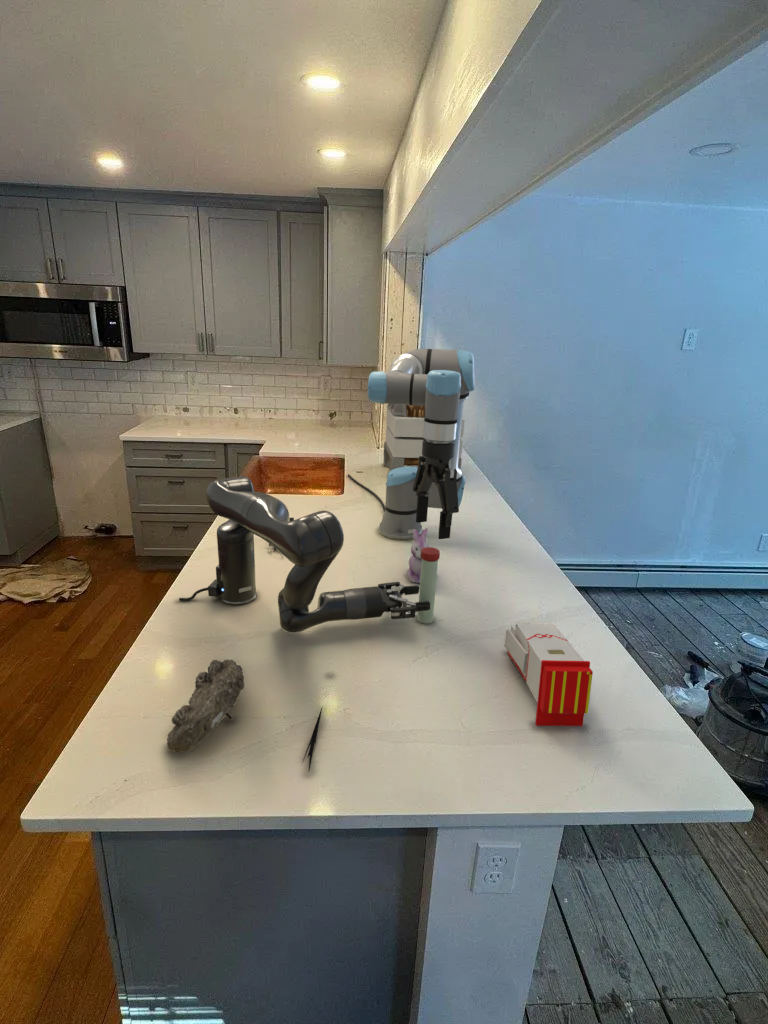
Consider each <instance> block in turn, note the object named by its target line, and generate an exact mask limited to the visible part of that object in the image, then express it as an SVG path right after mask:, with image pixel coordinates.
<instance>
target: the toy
mask: <svg viewBox="0 0 768 1024" xmlns="http://www.w3.org/2000/svg"><path fill="white" fill-rule="evenodd" d="M503 645H504V647H505V649H506V650H507V655H508V656H509V658H510V659H511V662H513V664H514V666H515V667H516V669H517V670H518V672H519V673H520V675H521V676H522V679H523V680H524V681H525V683H526V686H527V687H528V689H529V690H530V693H531V694H532V696H533V698H534V700H535V701H536V703H537V704H536V714H535V722H534V723H535V726H537V727H541V726H542V727H583V726H584V719H585V715H586V714H587V715H588V714H589V706H590V705H589V704H590V699H591V691H592V683H593V682H592V681H593V674H594V673H593V672H594V671H593V670H592V669H591V668H590V667H591V661H590V660H584V659H583V658H582V657H581V655H580V654H579V653H578V651H577V650H576V649H575V648H574V647H573V645H572V644H571V643H570V642H569V640H568V639H567V638H566V636H564V633H562V632H561V630H560V629H559V628H558V627H557V625H556V624H555V623H553V622H515V624H511V625H510V628H506V630H505V638H504V644H503Z"/></svg>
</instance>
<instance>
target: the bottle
mask: <svg viewBox="0 0 768 1024" xmlns="http://www.w3.org/2000/svg"><path fill="white" fill-rule="evenodd" d="M438 564H439V559H438V560H437V561H425V560H423V559H422V562H421V576H420V583H419V593H418V602H423V601H429V602H430V610H427V611H417V618H416V619H417V621H418V622H419V623H421V624H431V623H432V622H434V613H435V602H436V590H437V589H436V588H437V577H438V568H439V567H438V566H439V565H438Z"/></svg>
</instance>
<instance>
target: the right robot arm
mask: <svg viewBox="0 0 768 1024" xmlns="http://www.w3.org/2000/svg"><path fill="white" fill-rule="evenodd" d="M473 391H475V358H474V354H473V352H471V351H469V350H468V351H467V350H461V349H460V350H459V349H443V348H441V349H440V348H416V349H412V350H409V351H405V352H403V353H401V354H399V355H398V356H396V357H395V358H394V359H393V360H392V362H391V364H390V368H389V369H388V370H387V371H384V370H380V371H372V372H370V374H369V376H368V381H367V398H368V400H369V402H371V403H375V404H381V405H385V404H386V405H388V404H401V405H414V406H425V417H424V427H423V438H424V441H423V443H422V455H423V456H419V465H418V466H404V467H400V468H396V469H393V470H391V471H390V470H389V471H388V473H387V475H386V482H385V504H384V502H383V500H382V499H381V498H380V497H379V495H377V494H376V493H375V492H374V491H373V490H371V489H370V488H368V487H367V486H365V485H364V484H362V483H360V482H359V481H357V480H356V479H354V478H353V477H352V475H350V474H347V477H348V478H349V479H350V480H351V481H353V483H355V484H357V485H358V486H360V487H361V488H363V489H364V490H365V491H367V492H368V493H370V494H372V496H374V497H375V498H376V499H377V500H378V502H379V503H380V505H381V507H382V510H383V512H384V513H383V515H382V519H381V522H379V526H378V533H379V534H380V535H381V536H382V537H385V538H387V539H389V540H395V541H410V540H414V537H413V530H414V529H416V530H417V531H418V533H419V535H421V534H422V532H423V525H422V524H421V523H426V522H427V523H428V512H429V511H428V509H429V508H431V509H441V511H439V523H438V534H437V535H438V536H437V539H439V540H446V539H450V538H451V528H452V523H453V514H457V513H459V512H460V506H461V503H462V500H463V496H464V493H465V492H464V490H465V486H466V477H465V476H463V473H462V469H461V470H460V469H459V468H458V458H459V447H460V439H461V438H460V436H461V425H462V419H463V414H464V413H463V412H464V403H465V401H466V400H467V399H468V398H469V397H470V392H473Z"/></svg>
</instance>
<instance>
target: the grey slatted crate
mask: <svg viewBox="0 0 768 1024" xmlns="http://www.w3.org/2000/svg"><path fill="white" fill-rule="evenodd" d="M385 414H386V415H385V423H386V428H385V438H384V442H383V466H384V467H388V468H389V472H390V471H391V470H393V469H396V468H400V467H405V466H406V467H418V465H419V456H423V455H422V443H423V441H424V438H423V427H424V417H425V406H414V405H401V404H386V413H385ZM464 429H465V419H464V418H462V425H461V436H460V447H459V458H458V468H459V469H460V470H461V471H462V461H463V460H462V453H463V442H464V441H463V440H462V439H463V438H464V431H465V430H464Z"/></svg>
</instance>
